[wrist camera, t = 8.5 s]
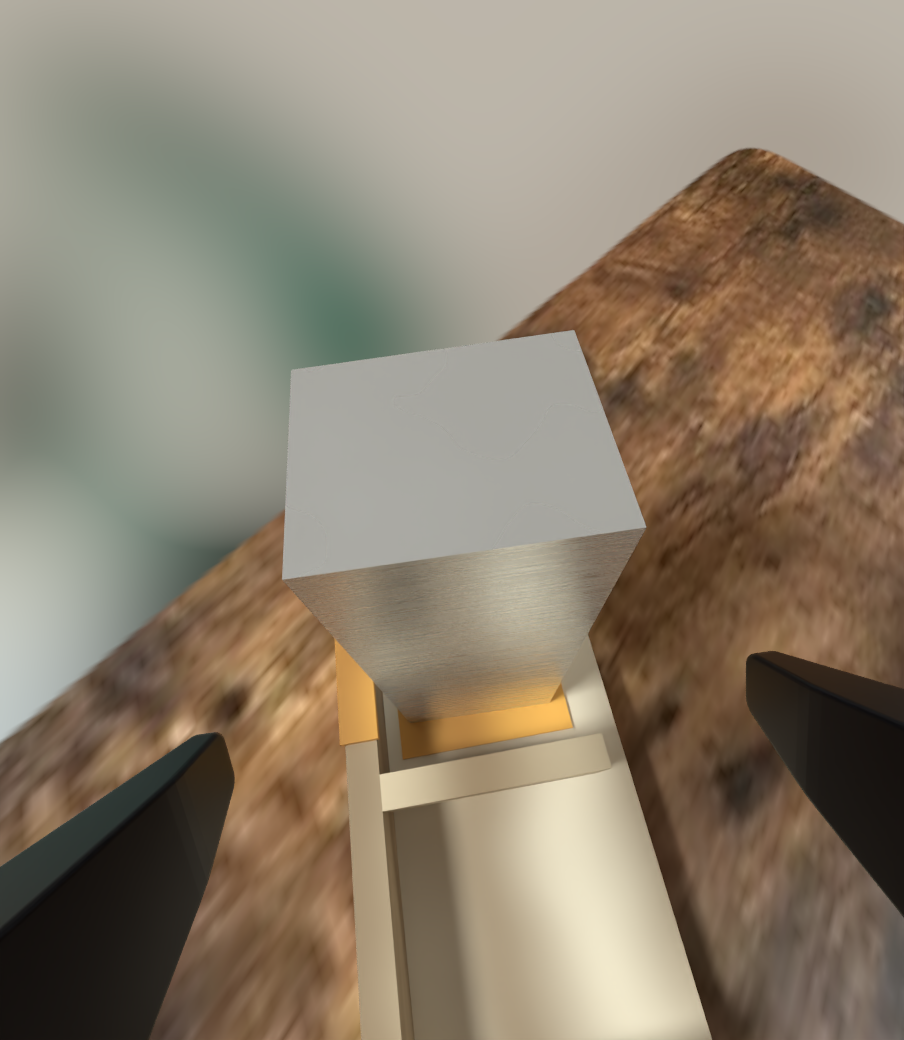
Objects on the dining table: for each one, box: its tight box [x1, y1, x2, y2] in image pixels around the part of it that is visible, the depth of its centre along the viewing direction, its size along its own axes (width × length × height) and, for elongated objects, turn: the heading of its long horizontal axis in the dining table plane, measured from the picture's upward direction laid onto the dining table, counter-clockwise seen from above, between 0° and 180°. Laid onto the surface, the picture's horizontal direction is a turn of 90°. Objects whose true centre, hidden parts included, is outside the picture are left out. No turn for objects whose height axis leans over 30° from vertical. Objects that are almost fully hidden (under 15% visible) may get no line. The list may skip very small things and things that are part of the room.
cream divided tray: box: [335, 634, 712, 1040], centre depth 17 cm, size 9×17×3 cm, turn 9°
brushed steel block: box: [282, 330, 646, 723], centre depth 14 cm, size 4×5×13 cm
